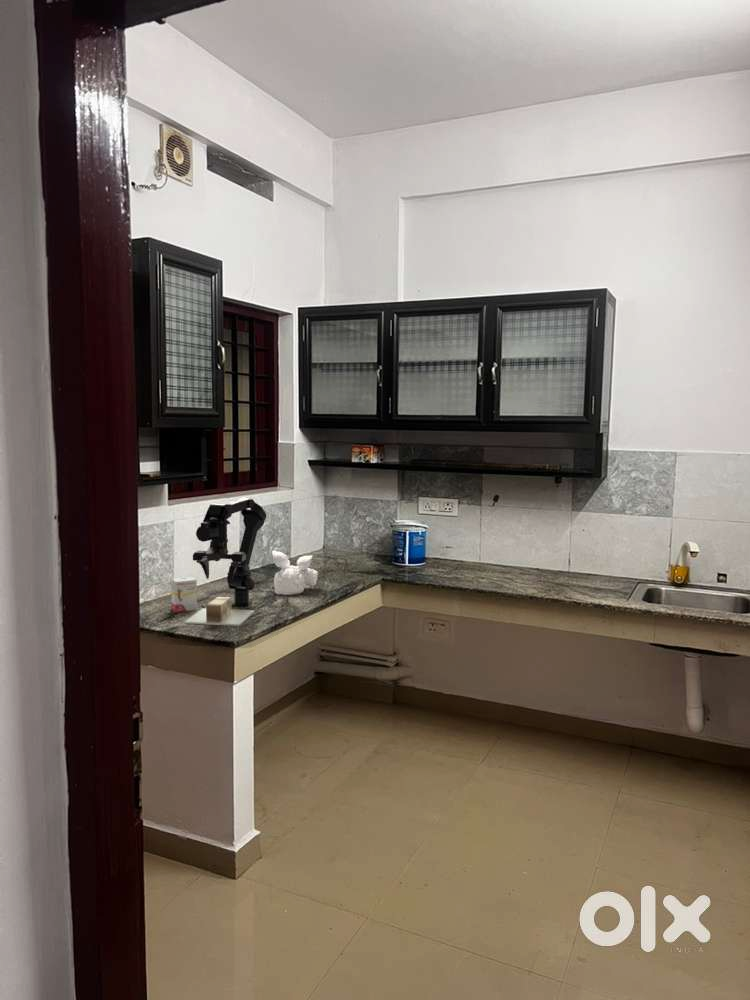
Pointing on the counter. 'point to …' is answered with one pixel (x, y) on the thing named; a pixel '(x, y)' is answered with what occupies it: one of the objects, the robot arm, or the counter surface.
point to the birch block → (218, 609)
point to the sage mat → (232, 619)
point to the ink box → (184, 594)
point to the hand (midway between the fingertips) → (219, 579)
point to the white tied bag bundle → (292, 574)
